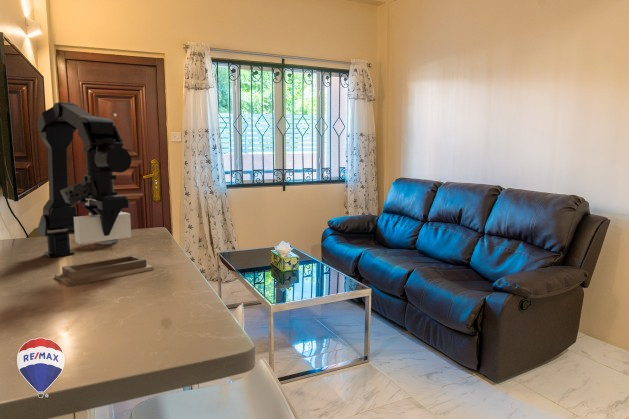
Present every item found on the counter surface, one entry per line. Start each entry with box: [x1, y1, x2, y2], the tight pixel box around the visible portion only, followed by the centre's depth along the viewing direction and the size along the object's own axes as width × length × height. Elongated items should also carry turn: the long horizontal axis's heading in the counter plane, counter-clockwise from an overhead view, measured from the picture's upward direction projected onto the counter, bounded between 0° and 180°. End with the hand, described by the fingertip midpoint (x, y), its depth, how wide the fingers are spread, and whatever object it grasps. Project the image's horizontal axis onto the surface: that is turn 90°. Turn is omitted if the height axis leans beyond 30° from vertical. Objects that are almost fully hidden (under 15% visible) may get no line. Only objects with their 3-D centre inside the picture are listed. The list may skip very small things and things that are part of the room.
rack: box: [54, 254, 155, 287], centre depth 109 cm, size 10×20×3 cm, turn 136°
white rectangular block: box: [74, 211, 132, 245], centre depth 108 cm, size 4×12×6 cm, turn 136°
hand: (103, 234), depth 108 cm, fingers closed on white rectangular block, 3 cm apart
